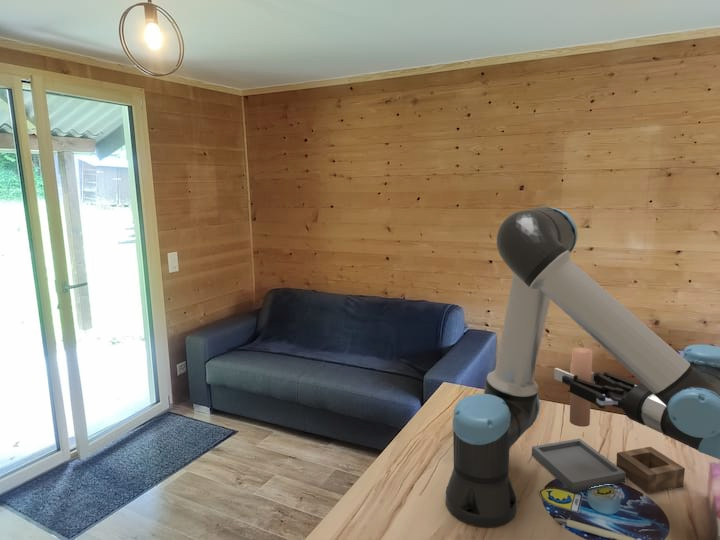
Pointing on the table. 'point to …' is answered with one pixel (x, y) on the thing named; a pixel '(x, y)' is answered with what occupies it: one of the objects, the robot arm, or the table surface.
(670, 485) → the socket block
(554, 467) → the tray
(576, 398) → the dowel
